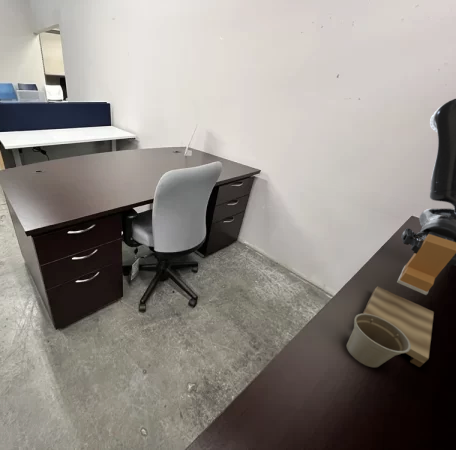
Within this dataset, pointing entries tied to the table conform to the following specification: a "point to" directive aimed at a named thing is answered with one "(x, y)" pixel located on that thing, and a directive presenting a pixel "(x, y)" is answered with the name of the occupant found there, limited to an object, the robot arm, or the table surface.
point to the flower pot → (376, 340)
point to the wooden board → (404, 321)
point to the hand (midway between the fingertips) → (433, 255)
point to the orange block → (427, 263)
